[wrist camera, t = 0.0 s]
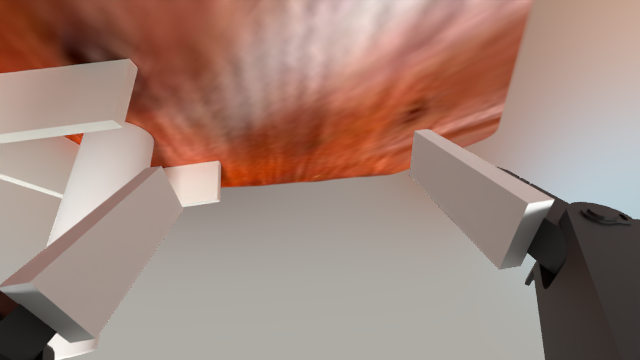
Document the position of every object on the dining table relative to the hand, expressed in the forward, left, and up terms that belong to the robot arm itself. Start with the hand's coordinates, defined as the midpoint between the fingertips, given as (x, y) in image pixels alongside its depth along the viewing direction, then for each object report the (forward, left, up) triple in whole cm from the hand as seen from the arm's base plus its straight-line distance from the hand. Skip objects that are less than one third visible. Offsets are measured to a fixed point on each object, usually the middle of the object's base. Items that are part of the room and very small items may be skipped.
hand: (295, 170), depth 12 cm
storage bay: (+13, -21, -15) cm, 29 cm away
